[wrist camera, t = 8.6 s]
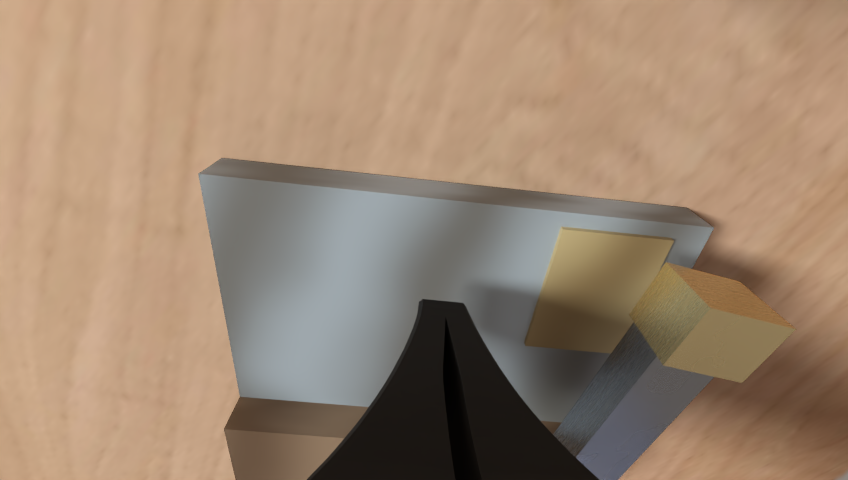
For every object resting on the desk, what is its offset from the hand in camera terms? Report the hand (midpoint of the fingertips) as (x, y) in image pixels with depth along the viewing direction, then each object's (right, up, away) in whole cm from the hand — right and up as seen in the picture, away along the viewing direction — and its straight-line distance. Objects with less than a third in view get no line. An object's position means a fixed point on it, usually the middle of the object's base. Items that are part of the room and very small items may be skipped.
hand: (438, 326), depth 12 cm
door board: (0, -1, +5) cm, 5 cm away
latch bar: (+6, -4, +2) cm, 7 cm away
